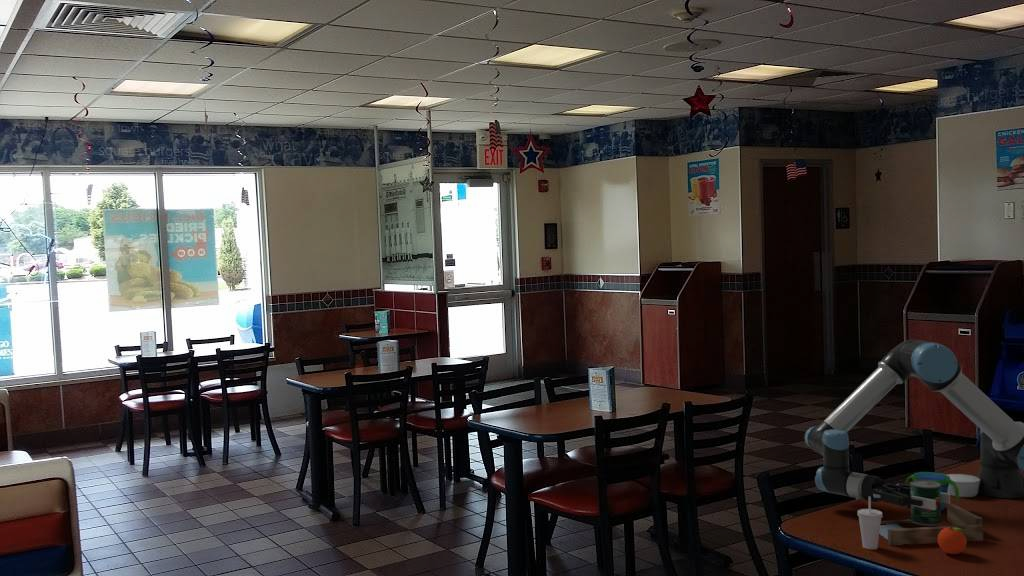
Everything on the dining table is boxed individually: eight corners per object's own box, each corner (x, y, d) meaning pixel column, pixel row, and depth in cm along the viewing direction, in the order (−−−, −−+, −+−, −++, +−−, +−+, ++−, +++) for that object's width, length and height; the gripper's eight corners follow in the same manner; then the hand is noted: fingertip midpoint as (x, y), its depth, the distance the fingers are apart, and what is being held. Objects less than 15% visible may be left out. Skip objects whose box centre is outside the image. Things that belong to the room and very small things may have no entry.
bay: (951, 520, 265) (951, 503, 265) (990, 540, 246) (990, 522, 246) (858, 524, 263) (858, 507, 262) (890, 545, 244) (890, 527, 244)
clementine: (961, 548, 240) (961, 522, 240) (976, 557, 233) (975, 530, 233) (932, 549, 240) (932, 523, 240) (945, 558, 233) (945, 531, 233)
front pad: (896, 525, 261) (896, 524, 261) (922, 540, 247) (922, 539, 247) (867, 526, 261) (867, 525, 261) (891, 542, 247) (891, 541, 247)
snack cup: (898, 506, 279) (898, 474, 279) (914, 500, 286) (914, 468, 286) (948, 517, 267) (948, 483, 267) (964, 510, 274) (964, 477, 274)
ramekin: (934, 492, 295) (934, 476, 295) (957, 487, 300) (957, 472, 299) (963, 500, 285) (963, 484, 284) (987, 495, 289) (987, 479, 289)
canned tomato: (923, 527, 251) (923, 488, 250) (904, 519, 258) (903, 481, 258) (947, 523, 253) (947, 485, 252) (927, 516, 261) (927, 478, 260)
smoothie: (856, 549, 242) (855, 498, 241) (859, 542, 247) (858, 492, 247) (881, 552, 239) (881, 500, 238) (884, 545, 244) (883, 494, 244)
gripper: (883, 492, 276) (959, 507, 258) (848, 506, 263) (925, 523, 245) (883, 468, 276) (958, 481, 258) (847, 481, 263) (924, 496, 245)
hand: (942, 502), depth 252 cm, fingers closed on canned tomato, 8 cm apart
